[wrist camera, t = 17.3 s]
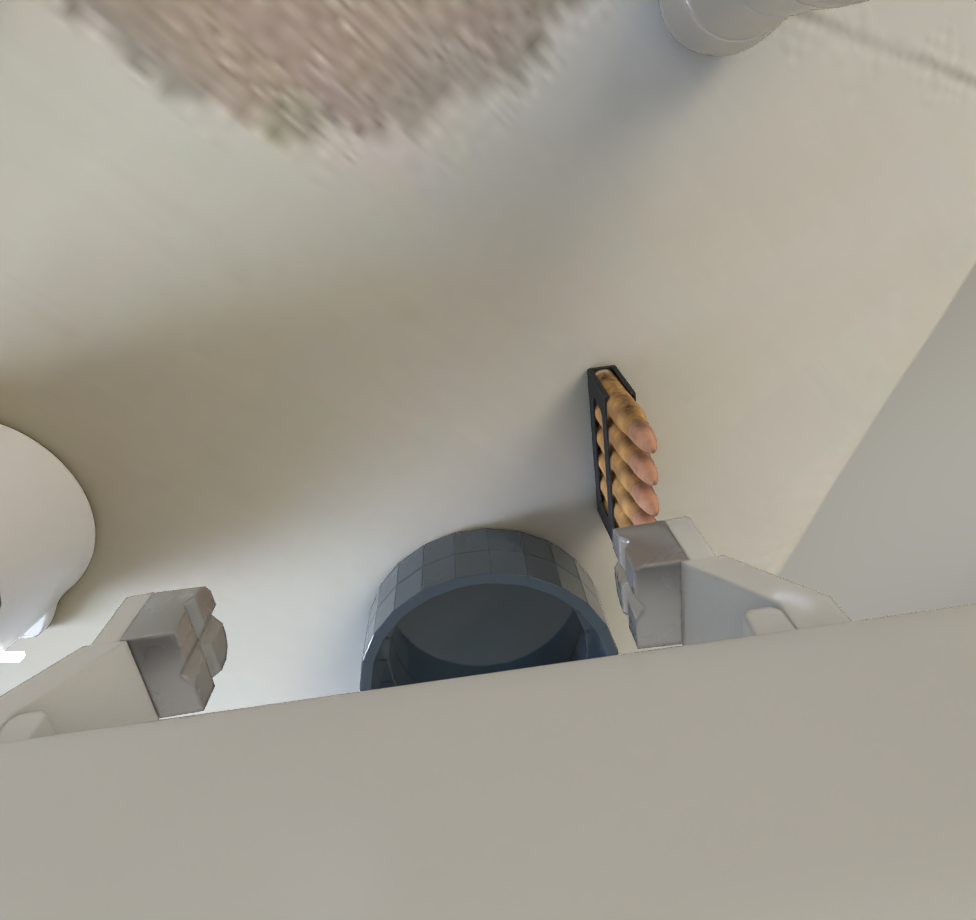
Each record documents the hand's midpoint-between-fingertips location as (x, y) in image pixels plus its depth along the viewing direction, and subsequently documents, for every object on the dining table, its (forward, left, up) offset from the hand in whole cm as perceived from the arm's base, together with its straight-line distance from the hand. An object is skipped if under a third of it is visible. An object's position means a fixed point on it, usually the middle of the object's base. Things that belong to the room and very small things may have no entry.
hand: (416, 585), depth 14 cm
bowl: (0, -25, -31) cm, 40 cm away
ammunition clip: (+10, -11, -31) cm, 35 cm away
